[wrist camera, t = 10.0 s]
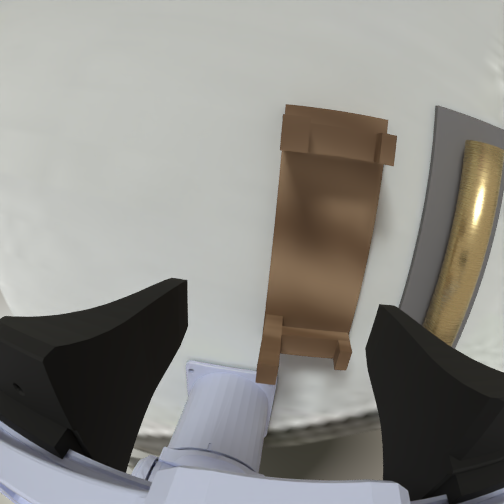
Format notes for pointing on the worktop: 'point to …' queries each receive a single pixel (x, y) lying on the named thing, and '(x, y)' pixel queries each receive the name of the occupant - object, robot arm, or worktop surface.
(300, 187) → the hook stand
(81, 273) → the worktop surface
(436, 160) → the mat
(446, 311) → the rail
